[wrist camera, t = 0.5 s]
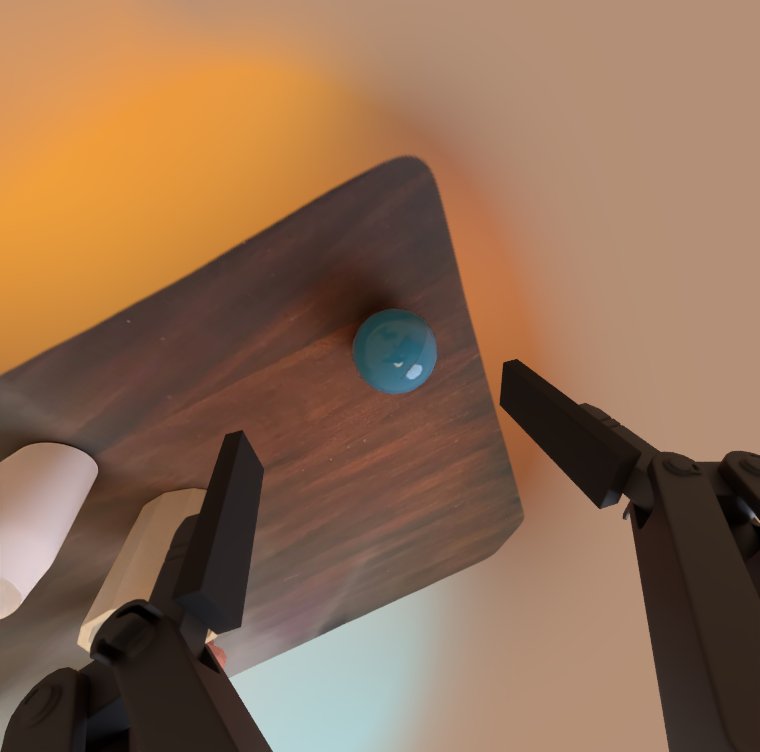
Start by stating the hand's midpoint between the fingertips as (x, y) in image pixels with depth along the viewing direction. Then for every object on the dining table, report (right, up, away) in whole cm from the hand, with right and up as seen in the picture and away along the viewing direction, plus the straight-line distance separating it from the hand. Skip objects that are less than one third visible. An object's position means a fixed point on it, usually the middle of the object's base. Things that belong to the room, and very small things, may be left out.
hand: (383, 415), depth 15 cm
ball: (0, +6, +16) cm, 17 cm away
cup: (-33, -7, +16) cm, 37 cm away
